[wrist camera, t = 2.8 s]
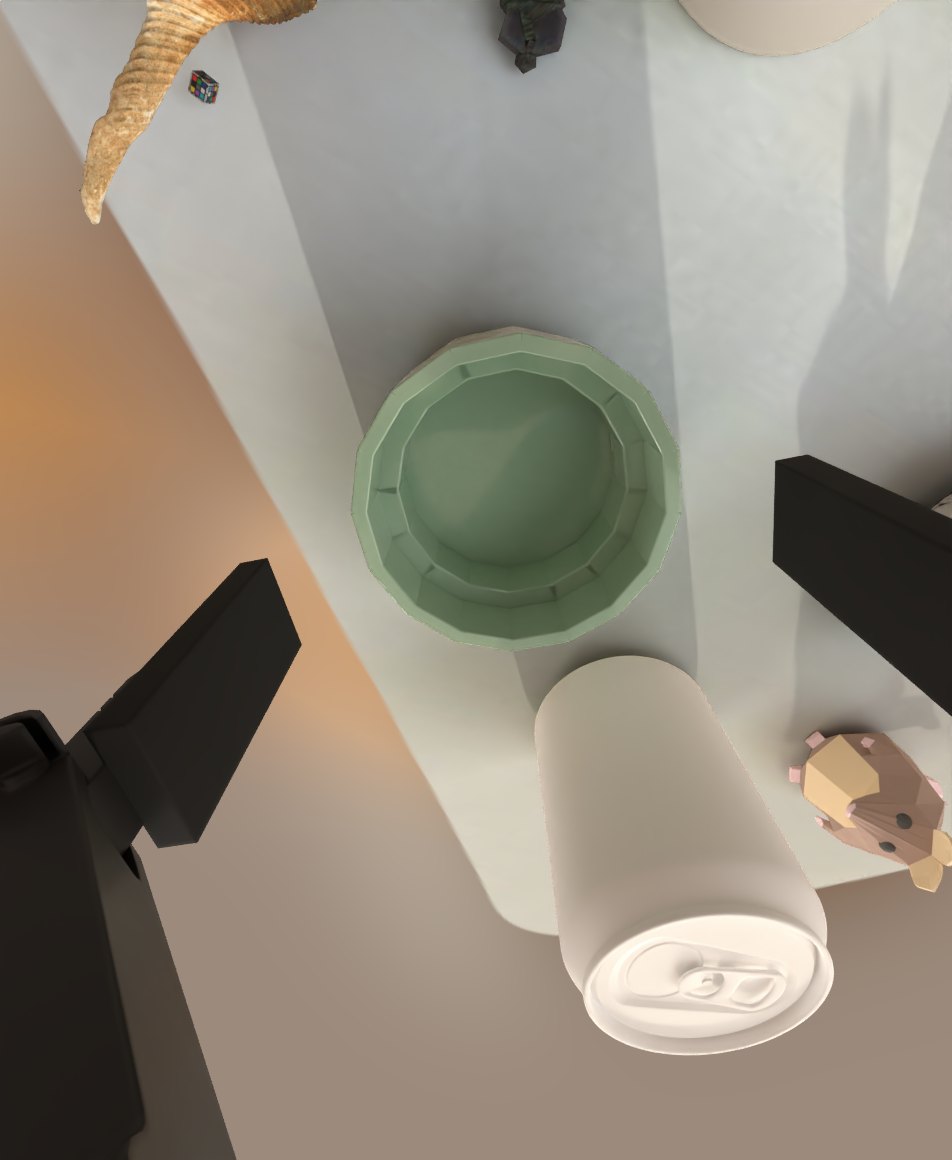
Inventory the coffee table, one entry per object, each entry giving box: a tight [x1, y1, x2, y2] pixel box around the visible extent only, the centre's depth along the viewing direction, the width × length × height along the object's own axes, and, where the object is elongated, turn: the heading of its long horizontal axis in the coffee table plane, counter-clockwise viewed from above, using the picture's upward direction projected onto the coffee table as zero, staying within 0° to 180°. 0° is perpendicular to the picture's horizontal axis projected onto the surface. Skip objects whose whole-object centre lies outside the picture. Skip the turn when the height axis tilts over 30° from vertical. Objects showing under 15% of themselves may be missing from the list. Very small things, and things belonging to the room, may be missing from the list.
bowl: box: [351, 326, 682, 651], centre depth 20 cm, size 10×10×5 cm
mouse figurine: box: [789, 731, 952, 892], centre depth 25 cm, size 5×8×7 cm, turn 72°
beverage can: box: [534, 656, 834, 1055], centre depth 22 cm, size 8×8×12 cm
